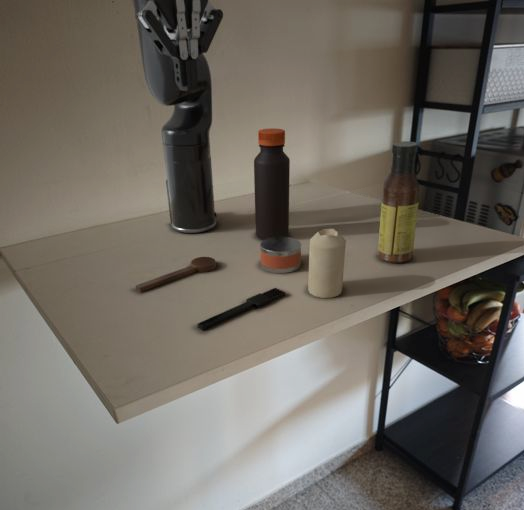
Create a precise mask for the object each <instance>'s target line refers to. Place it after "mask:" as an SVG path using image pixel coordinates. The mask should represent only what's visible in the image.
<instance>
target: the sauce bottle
mask: <svg viewBox="0 0 524 510" xmlns="http://www.w3.org/2000/svg"><path fill="white" fill-rule="evenodd" d="M391 148H392V149H391V153H392V159H391V168H390V173H389V175H388V176H387V178H386V179H385V180H384V182H383V187H382V197H381V199H382V200H381V207H380V218H379V219H380V221H379V232H378V233H379V234H378V244H377V249H378V257H379V258H380V259H381V261H385V262H388V263H392V264H394V263H395V264H401V263H405V262H408V261H410V260H411V258H412V257H413V250H414V246H415V238H416V228H417V218H418V211H419V202H420V201H419V200H420V199H419V198H420V197H419V194H420V183H419V181H418V177H417V175H416V157H417V153H418V152H419V143H418V142H416V141H407V140H405V141H404V140H403V141H397V142H394V143H392V147H391Z"/></svg>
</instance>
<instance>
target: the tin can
mask: <svg viewBox="0 0 524 510" xmlns="http://www.w3.org/2000/svg"><path fill="white" fill-rule="evenodd" d="M259 246H260V247H259V254H260V255H259V256H260V267H261V268H262V270H264V271H266V272H268V273H273V274H287V273H292V272H295V271H297V270H299V269H300V268H301V263H302V262H301V261H302V242H301V241H300V240H299V239H296V238H294V237H289V236H287V237H272V238H268V239H265V240H262V241H261V242H260V244H259Z"/></svg>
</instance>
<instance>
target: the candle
mask: <svg viewBox="0 0 524 510" xmlns="http://www.w3.org/2000/svg"><path fill="white" fill-rule="evenodd" d="M346 246H347V241H346V239H345V238H344V236H343V235H342V234H340V233H339V232H338V231H337V230H336V229H334V228H323V229H321V230H320V231H318V230H317V232H316V233H315V234H314V235H312V236H311V238H310V239H309V251H308V252H309V253H308V255H309V256H308V278H307V279H308V280H307V288H308V293H309V294H310V295H311V296H314V297H317V298H321V299H331V298H335V297H337V296H340V295H341V294H342V291H343V283H344V271H345V257H346Z"/></svg>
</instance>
